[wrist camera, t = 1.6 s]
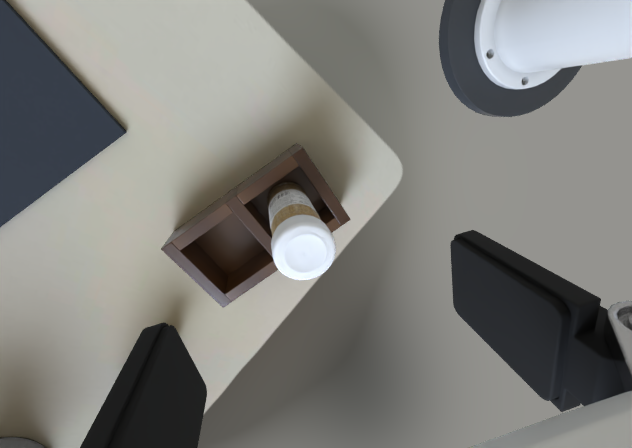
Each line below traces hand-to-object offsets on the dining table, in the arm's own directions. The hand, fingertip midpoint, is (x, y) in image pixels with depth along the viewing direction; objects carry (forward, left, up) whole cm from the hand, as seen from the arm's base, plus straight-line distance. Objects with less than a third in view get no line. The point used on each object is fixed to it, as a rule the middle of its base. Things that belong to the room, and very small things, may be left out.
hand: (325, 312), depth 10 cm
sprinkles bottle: (+1, +3, -24) cm, 24 cm away
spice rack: (+5, +3, -24) cm, 25 cm away
